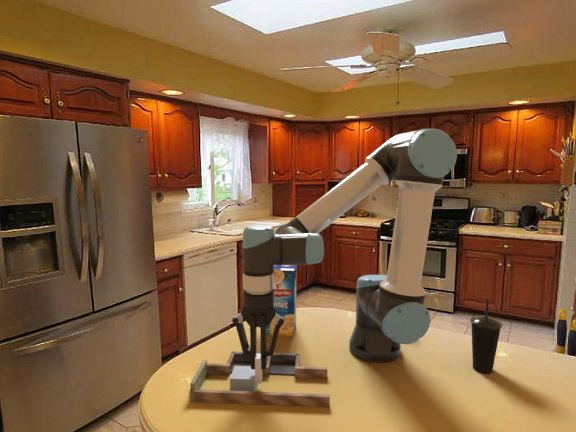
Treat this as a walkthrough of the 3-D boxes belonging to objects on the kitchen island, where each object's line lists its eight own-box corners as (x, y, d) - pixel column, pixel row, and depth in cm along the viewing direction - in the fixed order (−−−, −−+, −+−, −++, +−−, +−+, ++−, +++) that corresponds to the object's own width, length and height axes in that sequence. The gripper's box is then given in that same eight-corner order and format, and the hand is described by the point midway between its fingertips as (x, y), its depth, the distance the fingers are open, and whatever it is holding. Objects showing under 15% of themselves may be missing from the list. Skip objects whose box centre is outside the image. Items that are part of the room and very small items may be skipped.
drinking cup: (501, 368, 105) (507, 299, 102) (493, 380, 99) (499, 306, 97) (472, 359, 110) (477, 292, 107) (463, 369, 104) (468, 299, 102)
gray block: (257, 381, 99) (257, 366, 98) (254, 394, 93) (254, 379, 92) (234, 380, 99) (234, 365, 98) (230, 393, 93) (229, 378, 92)
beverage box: (294, 335, 125) (294, 270, 122) (261, 333, 126) (261, 269, 123) (296, 327, 131) (296, 265, 129) (265, 325, 133) (264, 264, 130)
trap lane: (326, 362, 108) (326, 349, 107) (329, 407, 88) (329, 391, 87) (211, 359, 110) (211, 345, 109) (189, 401, 90) (189, 385, 89)
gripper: (286, 285, 95) (285, 373, 98) (234, 284, 96) (235, 371, 99) (284, 295, 88) (283, 390, 91) (228, 294, 89) (229, 388, 92)
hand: (258, 380), depth 95 cm, fingers closed
